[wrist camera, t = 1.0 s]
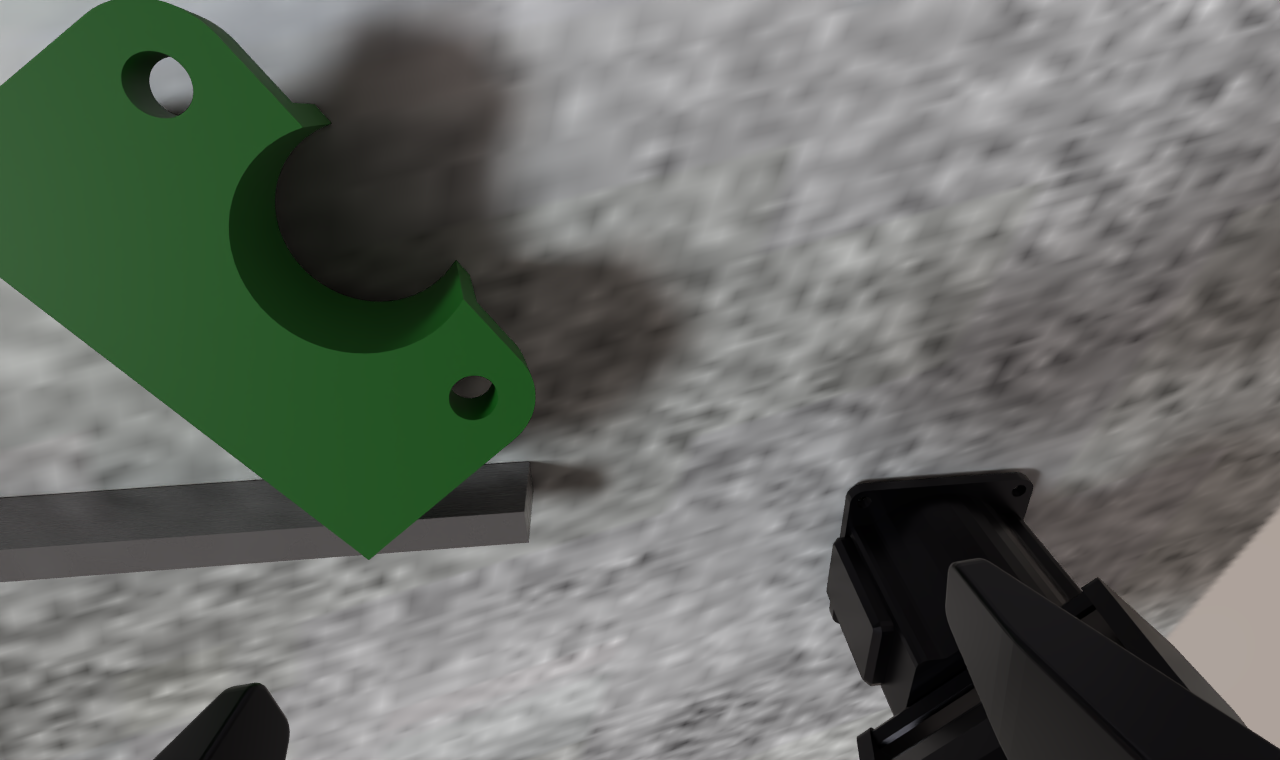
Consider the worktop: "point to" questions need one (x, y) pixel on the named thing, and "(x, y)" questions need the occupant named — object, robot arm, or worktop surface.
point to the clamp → (236, 277)
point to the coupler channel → (233, 526)
